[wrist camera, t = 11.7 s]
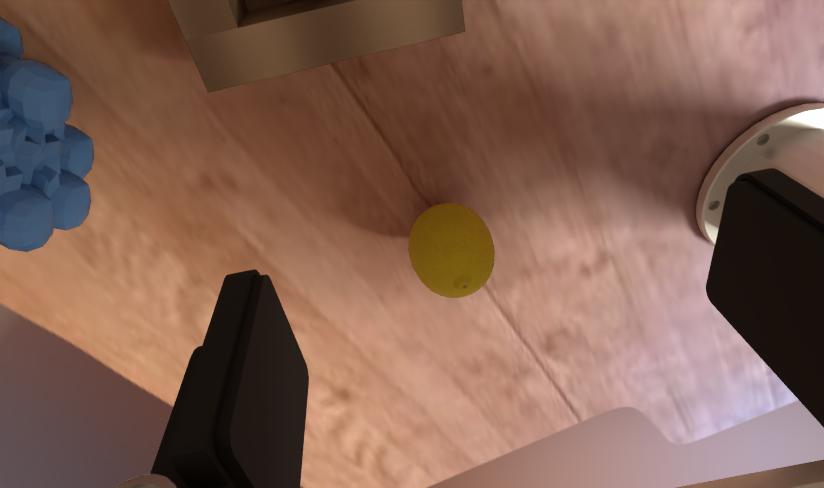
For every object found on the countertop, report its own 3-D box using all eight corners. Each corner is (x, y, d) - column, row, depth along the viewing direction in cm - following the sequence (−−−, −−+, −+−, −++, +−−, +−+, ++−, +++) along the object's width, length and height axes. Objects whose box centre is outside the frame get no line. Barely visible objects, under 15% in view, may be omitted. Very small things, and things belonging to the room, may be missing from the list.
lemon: (409, 254, 38) (426, 329, 32) (395, 192, 35) (411, 261, 29) (480, 238, 38) (512, 309, 32) (472, 175, 35) (506, 239, 29)
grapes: (182, 138, 31) (117, 253, 21) (88, 182, 31) (-17, 313, 22) (28, -69, 24) (-173, -42, 14) (-88, -8, 25) (-353, 59, 15)
